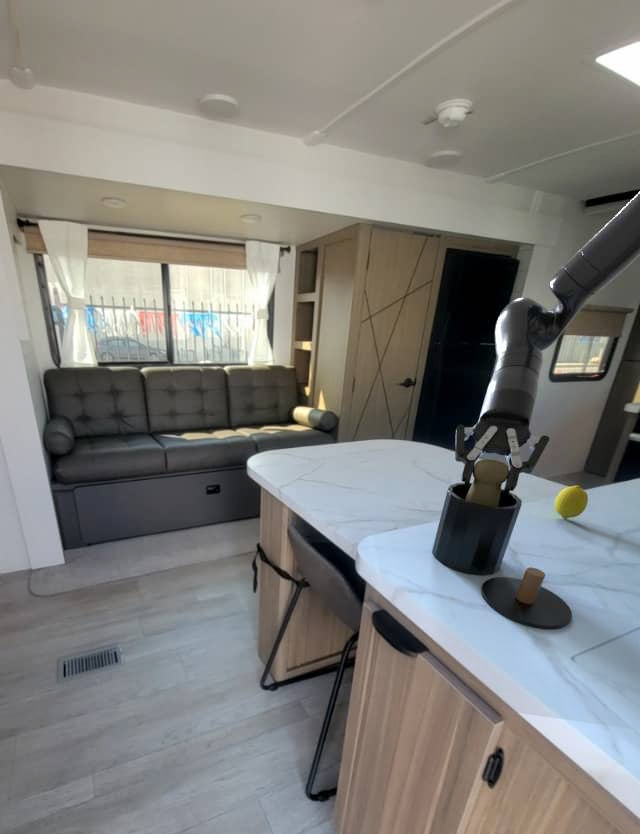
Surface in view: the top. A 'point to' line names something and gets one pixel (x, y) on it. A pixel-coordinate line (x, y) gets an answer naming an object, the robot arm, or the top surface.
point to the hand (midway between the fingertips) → (486, 487)
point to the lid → (527, 600)
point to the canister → (474, 532)
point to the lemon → (571, 502)
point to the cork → (487, 482)
